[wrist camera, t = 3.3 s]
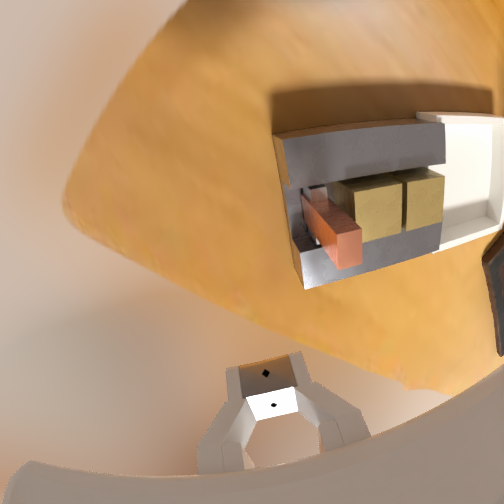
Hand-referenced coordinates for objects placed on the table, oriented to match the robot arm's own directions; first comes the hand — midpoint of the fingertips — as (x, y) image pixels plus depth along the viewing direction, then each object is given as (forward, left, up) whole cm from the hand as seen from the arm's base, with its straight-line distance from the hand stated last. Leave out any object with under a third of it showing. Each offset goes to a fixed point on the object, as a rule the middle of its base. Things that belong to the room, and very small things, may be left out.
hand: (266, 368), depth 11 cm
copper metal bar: (0, +6, -14) cm, 15 cm away
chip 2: (0, +10, -14) cm, 17 cm away
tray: (0, +24, -15) cm, 28 cm away
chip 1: (0, +15, -14) cm, 20 cm away
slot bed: (0, +11, -15) cm, 19 cm away
